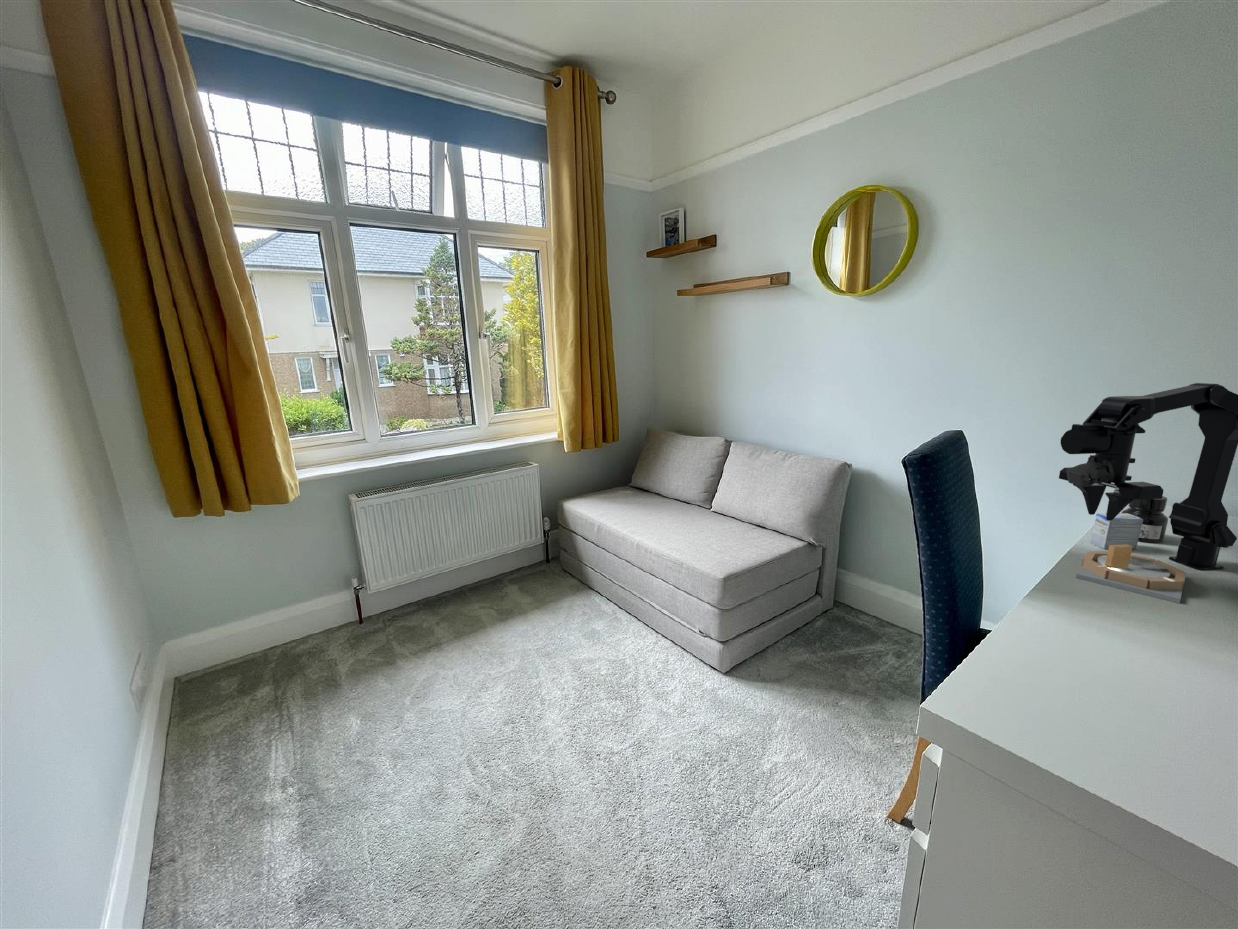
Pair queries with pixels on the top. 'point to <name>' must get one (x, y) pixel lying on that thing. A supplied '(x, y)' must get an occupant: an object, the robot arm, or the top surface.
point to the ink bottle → (1150, 518)
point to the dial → (1131, 563)
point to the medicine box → (1116, 530)
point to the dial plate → (1133, 578)
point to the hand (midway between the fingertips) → (1100, 517)
